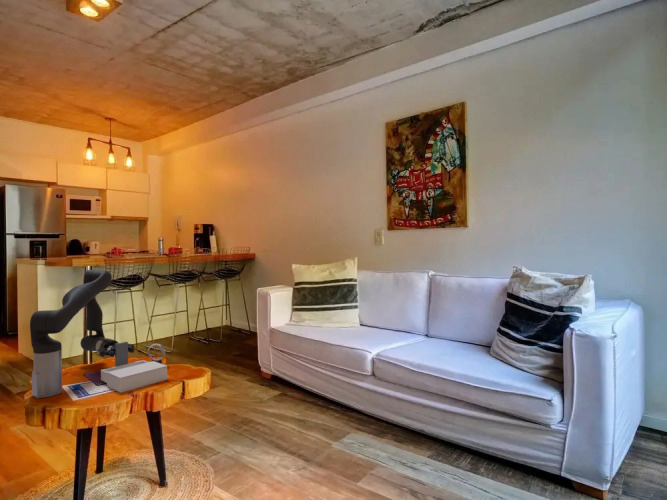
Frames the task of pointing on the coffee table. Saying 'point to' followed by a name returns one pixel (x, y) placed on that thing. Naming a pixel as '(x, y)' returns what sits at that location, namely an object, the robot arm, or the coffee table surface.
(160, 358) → the watch
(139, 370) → the light grey rectangular box
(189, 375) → the coffee table surface
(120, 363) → the dark grey upright bracket
